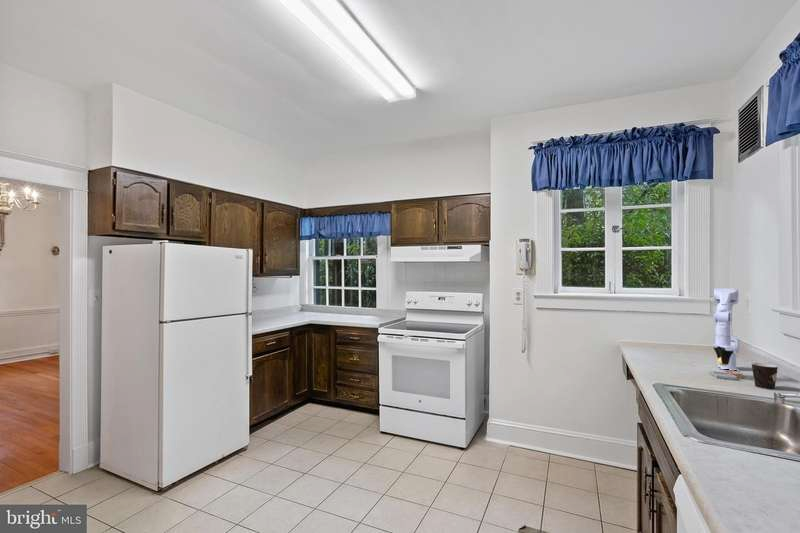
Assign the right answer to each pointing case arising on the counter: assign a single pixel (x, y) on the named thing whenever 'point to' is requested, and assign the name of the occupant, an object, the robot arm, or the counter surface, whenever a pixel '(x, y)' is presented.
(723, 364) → the ball
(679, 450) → the counter surface
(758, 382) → the coffee mug
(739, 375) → the dish
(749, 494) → the counter surface
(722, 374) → the tray
